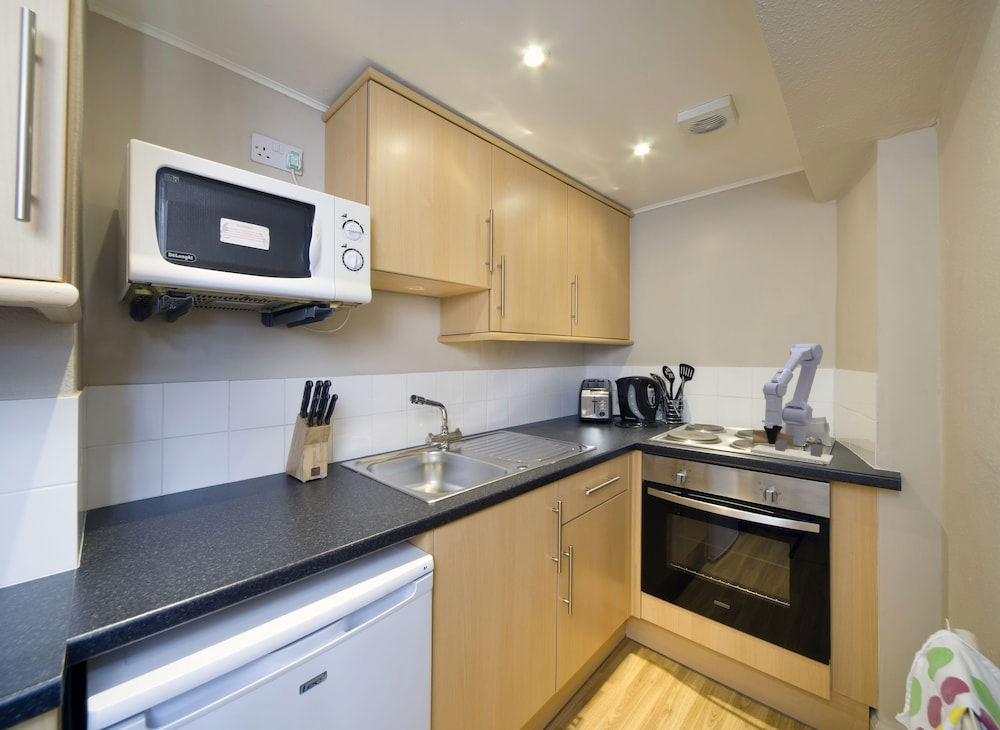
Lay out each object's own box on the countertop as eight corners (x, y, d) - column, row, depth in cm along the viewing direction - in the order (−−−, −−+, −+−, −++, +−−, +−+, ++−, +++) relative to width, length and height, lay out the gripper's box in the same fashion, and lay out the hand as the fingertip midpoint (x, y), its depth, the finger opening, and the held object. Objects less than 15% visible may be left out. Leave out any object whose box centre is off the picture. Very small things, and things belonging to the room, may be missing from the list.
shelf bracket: (826, 447, 168) (821, 417, 170) (766, 446, 190) (762, 420, 192) (834, 446, 170) (828, 416, 172) (773, 445, 193) (769, 419, 194)
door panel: (753, 443, 173) (754, 429, 173) (793, 449, 163) (793, 434, 163) (752, 444, 172) (752, 430, 171) (792, 450, 162) (792, 435, 162)
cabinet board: (758, 446, 167) (758, 436, 167) (832, 458, 150) (833, 446, 150) (750, 451, 157) (751, 440, 157) (829, 464, 141) (829, 452, 141)
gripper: (766, 408, 175) (764, 439, 175) (758, 411, 165) (757, 444, 165) (785, 410, 170) (784, 441, 171) (779, 413, 160) (777, 447, 160)
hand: (772, 443), depth 167 cm, fingers closed on door panel, 2 cm apart
